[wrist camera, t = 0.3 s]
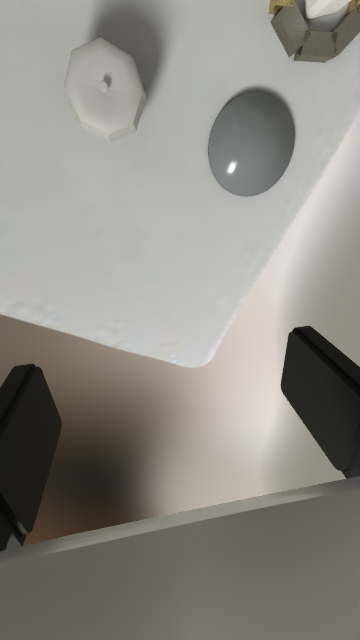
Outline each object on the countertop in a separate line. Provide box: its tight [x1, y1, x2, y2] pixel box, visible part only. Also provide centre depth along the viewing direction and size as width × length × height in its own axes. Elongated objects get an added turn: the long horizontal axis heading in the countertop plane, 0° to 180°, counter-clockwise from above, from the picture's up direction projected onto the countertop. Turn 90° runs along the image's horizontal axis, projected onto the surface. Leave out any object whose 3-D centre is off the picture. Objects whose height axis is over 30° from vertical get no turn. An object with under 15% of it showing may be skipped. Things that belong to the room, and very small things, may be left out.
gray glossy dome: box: [208, 91, 294, 196], centre depth 34 cm, size 11×11×1 cm
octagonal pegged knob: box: [64, 37, 146, 142], centre depth 27 cm, size 8×8×7 cm
